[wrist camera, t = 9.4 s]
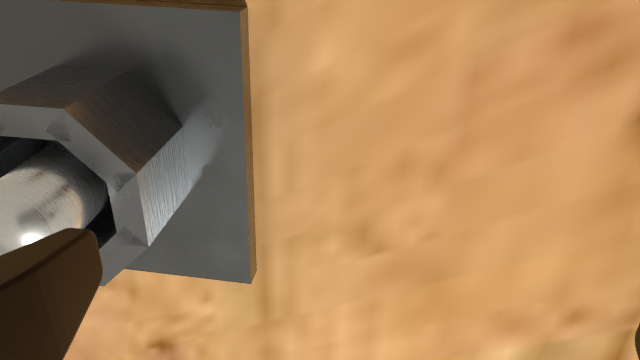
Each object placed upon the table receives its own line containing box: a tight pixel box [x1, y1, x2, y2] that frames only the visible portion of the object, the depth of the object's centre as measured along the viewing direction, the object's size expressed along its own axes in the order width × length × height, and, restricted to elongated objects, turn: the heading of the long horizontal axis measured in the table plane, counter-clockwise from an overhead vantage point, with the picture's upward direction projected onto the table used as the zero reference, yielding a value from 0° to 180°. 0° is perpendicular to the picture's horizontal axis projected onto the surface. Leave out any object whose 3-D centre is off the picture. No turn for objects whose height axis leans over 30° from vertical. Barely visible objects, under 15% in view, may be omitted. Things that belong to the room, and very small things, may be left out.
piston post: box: [0, 0, 256, 284], centre depth 19 cm, size 12×12×7 cm
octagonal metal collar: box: [0, 67, 190, 286], centre depth 19 cm, size 7×7×4 cm
